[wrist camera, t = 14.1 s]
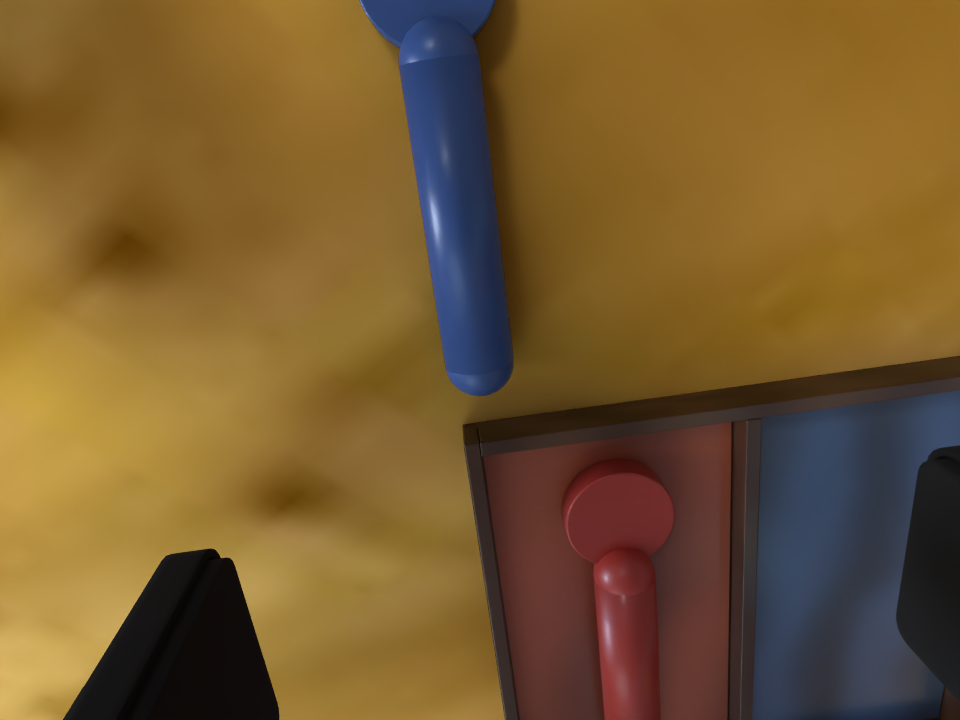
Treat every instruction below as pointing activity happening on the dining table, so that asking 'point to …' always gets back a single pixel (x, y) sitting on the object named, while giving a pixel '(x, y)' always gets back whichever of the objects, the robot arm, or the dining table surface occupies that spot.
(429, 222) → the blue spoon
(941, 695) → the sorting tray
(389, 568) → the dining table surface
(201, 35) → the dining table surface
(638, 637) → the red spoon
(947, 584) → the robot arm
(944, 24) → the dining table surface
